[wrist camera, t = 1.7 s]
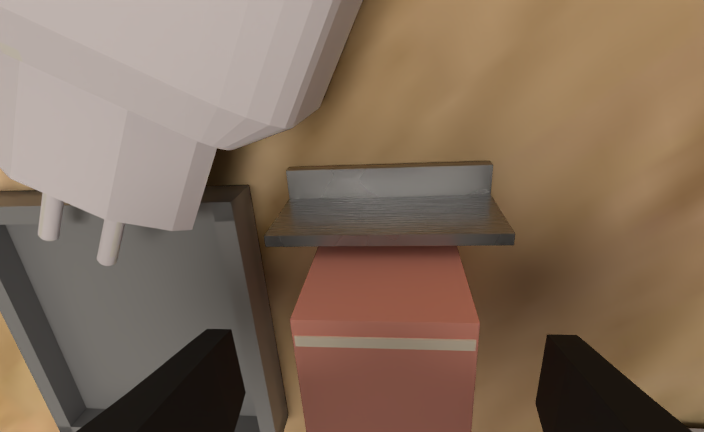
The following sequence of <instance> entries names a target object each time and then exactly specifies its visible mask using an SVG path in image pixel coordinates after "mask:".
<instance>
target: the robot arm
mask: <svg viewBox="0 0 704 432" xmlns="http://www.w3.org/2000/svg"><path fill="white" fill-rule="evenodd" d="M245 394H246V392H245V387H244V383H243V378H242V374H241V370H240V365H239V361H238V356H237V352H236V347H235V343H234V339H233V334H232V330H231V329H206V330H205V331H204V332H202V333H201V334H200V335H198V336H197V337H196V338H195V339H193V340H192V341H191V342H190V343H188V344H187V345H186V346H185V347H183V348H182V349H181V350H180V351H179V352H177V353H176V354H175V355H174V356H172V357H171V358H170V359H169V360H168V361H166V362H165V363H164V364H163V365H161V366H160V367H159V368H158V369H157V370H155V371H154V372H153V373H152V374H150V375H149V376H148V377H147V378H145V379H144V380H143V381H142V382H140V383H139V384H138V385H137V386H135V387H134V388H133V389H132V390H130V391H129V392H128V393H127V394H125V395H124V396H123V397H121V398H120V399H119V400H117V401H116V402H115V403H113V404H112V405H111V406H109V407H108V408H107V409H105V410H104V411H103V412H101V413H100V414H99V415H97V416H96V417H95V418H93V419H92V420H91V421H89V422H88V423H87V424H85V425H84V426H83V427H81V428H80V429H79V430H77V431H76V432H234V431H235V428H236V425H237V421H238V418H239V415H240V411H241V408H242V404H243V401H244V397H245ZM536 407H537V411H538V414H539V418H540V422H541V425H542V429H543V432H704V429H697V428H687V427H686V426H685V425H684V424H682V423H681V422H680V421H679V420H677V419H676V418H675V417H674V416H672V415H671V414H670V413H669V412H668V411H666V410H665V409H664V408H663V407H661V406H660V405H659V404H658V403H657V402H655V401H654V400H653V399H652V398H651V397H649V396H648V395H647V394H646V393H645V392H643V391H642V390H641V389H640V388H639V387H637V386H636V385H635V384H634V383H633V382H632V381H630V380H629V379H628V378H627V377H626V376H624V375H623V374H622V373H621V372H620V371H619V370H617V369H616V368H615V367H614V366H613V365H612V364H610V363H609V362H608V361H607V360H606V359H605V358H603V357H602V356H601V355H600V354H599V353H598V352H596V351H595V350H594V349H593V348H592V347H591V346H589V345H588V344H587V343H586V342H585V341H583V340H582V339H581V338H580V337H578V336H577V335H547V338H546V344H545V350H544V356H543V362H542V368H541V373H540V379H539V385H538V391H537V397H536Z"/></svg>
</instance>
